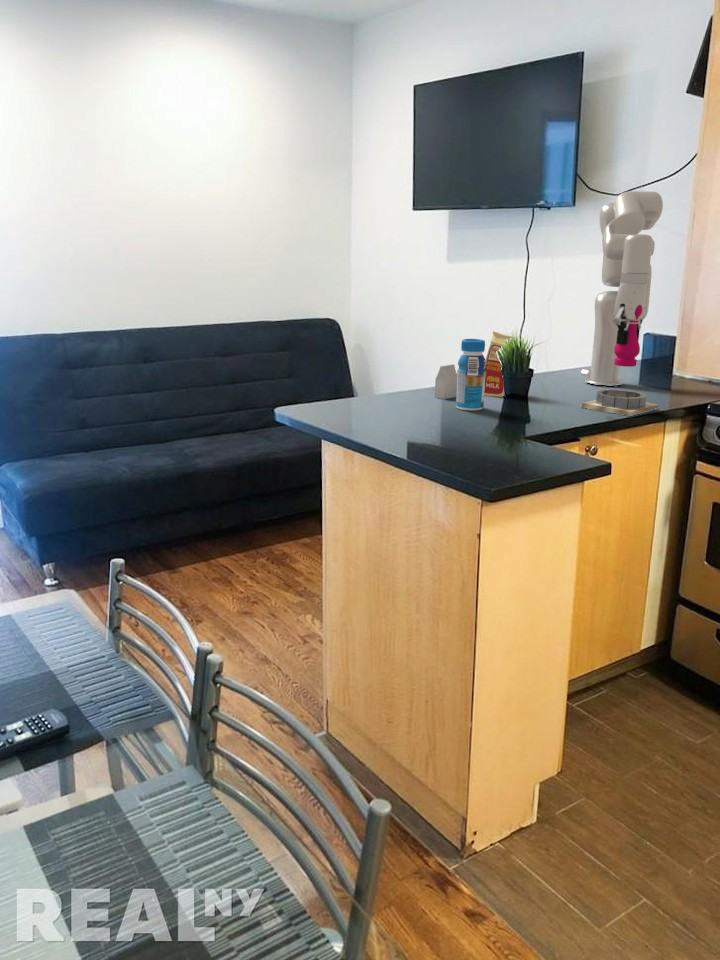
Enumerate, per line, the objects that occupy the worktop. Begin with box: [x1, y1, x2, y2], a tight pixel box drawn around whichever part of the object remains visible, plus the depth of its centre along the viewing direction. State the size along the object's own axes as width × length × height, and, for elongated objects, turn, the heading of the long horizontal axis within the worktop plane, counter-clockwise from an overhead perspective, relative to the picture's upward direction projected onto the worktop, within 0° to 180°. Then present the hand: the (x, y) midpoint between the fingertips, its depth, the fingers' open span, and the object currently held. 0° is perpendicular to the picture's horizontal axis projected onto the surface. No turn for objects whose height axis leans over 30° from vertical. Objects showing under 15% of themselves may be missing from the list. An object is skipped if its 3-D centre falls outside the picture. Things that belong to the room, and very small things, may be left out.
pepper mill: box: [614, 305, 642, 368], centre depth 236 cm, size 7×7×20 cm
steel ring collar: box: [595, 389, 647, 409], centre depth 242 cm, size 14×14×3 cm
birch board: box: [581, 399, 659, 416], centre depth 243 cm, size 16×16×2 cm
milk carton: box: [484, 330, 516, 398], centre depth 260 cm, size 9×9×20 cm
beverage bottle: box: [455, 338, 486, 412], centre depth 237 cm, size 8×8×20 cm
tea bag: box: [434, 364, 457, 400], centre depth 255 cm, size 4×7×10 cm, turn 137°
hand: (627, 342), depth 237 cm, fingers closed on pepper mill, 5 cm apart
